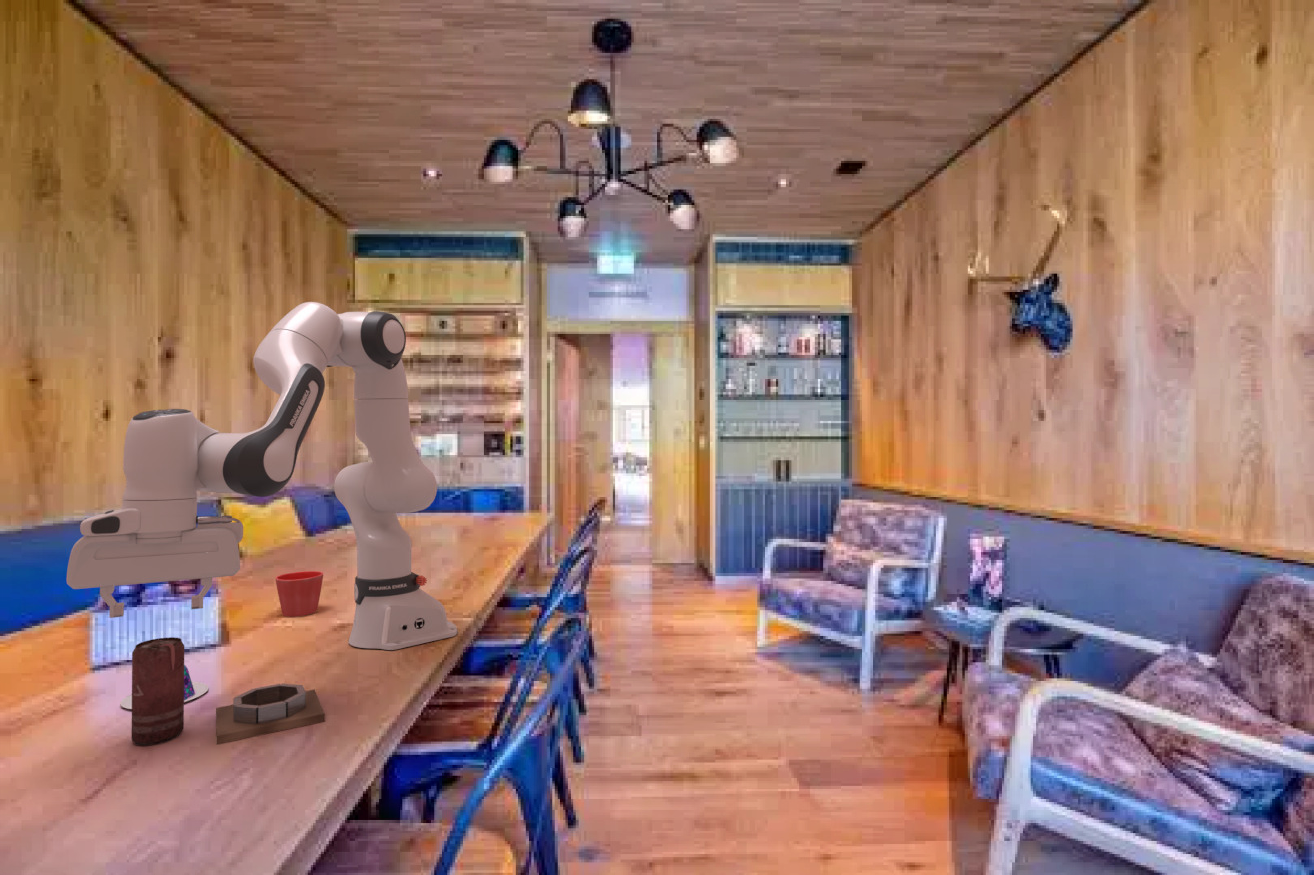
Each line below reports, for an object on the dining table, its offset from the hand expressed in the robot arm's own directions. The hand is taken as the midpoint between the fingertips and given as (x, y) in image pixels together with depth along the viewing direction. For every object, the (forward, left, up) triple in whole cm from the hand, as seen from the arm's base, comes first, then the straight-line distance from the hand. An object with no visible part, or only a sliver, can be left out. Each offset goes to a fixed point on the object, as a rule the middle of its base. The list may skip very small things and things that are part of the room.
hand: (158, 612), depth 96 cm
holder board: (-14, +1, -18) cm, 23 cm away
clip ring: (-14, +1, -17) cm, 22 cm away
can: (0, 0, -19) cm, 19 cm away
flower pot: (-25, -67, -19) cm, 74 cm away
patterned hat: (0, -18, -19) cm, 26 cm away
